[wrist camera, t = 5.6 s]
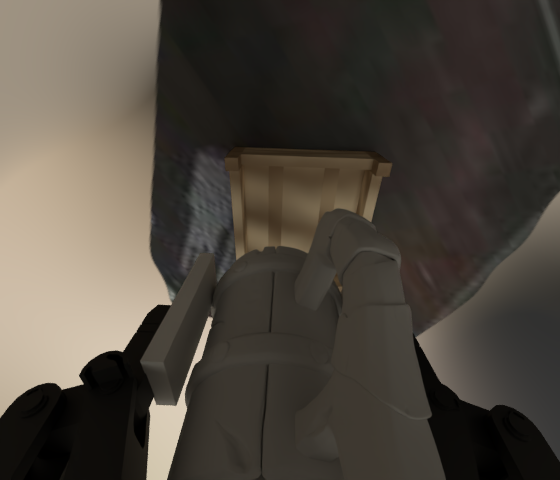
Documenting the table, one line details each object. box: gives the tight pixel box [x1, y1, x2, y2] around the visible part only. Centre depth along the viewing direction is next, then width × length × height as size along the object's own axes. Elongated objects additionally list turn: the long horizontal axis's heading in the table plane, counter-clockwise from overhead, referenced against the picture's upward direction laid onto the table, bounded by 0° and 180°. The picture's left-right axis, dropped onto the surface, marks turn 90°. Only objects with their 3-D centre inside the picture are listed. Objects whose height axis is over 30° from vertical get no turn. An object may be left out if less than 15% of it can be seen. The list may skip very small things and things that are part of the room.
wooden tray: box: [225, 147, 392, 293], centre depth 28 cm, size 17×15×5 cm
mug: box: [167, 208, 446, 480], centre depth 10 cm, size 8×12×12 cm, turn 155°
